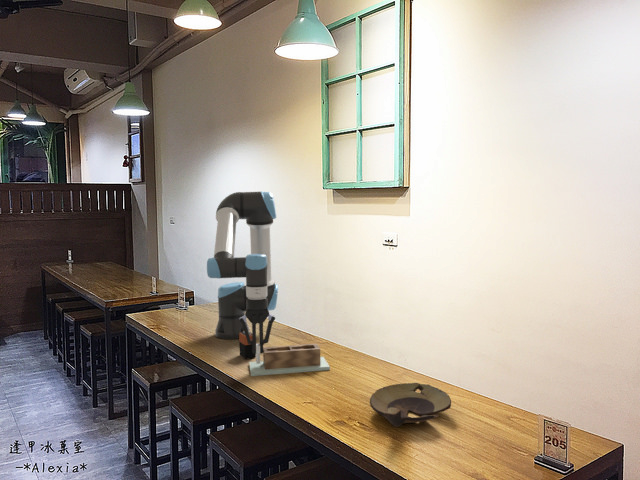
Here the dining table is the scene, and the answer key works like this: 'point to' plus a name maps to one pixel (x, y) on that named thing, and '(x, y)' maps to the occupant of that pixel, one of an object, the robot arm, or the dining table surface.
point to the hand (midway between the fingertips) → (258, 362)
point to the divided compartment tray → (291, 356)
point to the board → (260, 370)
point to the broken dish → (409, 402)
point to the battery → (246, 346)
